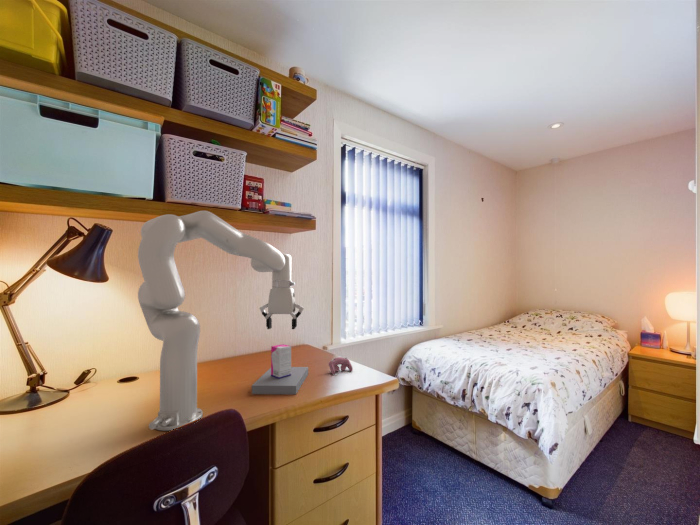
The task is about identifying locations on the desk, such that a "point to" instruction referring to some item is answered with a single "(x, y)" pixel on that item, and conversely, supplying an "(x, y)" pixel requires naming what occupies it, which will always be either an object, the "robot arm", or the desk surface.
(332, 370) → the pink toy elephant
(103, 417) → the desk surface
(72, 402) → the desk surface
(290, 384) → the riser
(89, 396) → the desk surface
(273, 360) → the supplement box
